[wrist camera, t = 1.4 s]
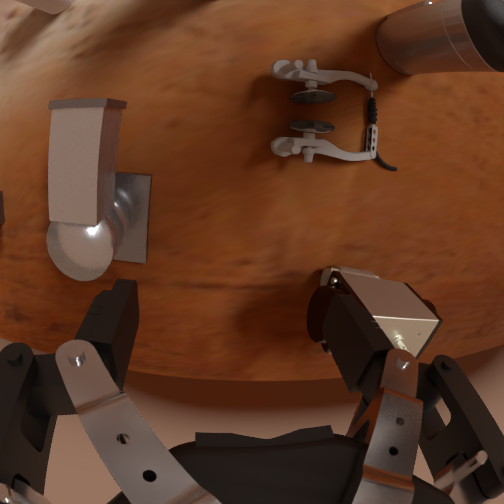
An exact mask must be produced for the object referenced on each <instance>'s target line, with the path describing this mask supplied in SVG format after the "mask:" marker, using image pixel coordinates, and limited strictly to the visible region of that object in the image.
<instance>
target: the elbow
mask: <svg viewBox="0 0 504 504" xmlns="http://www.w3.org/2000/svg"><path fill="white" fill-rule="evenodd" d="M126 105H127V102H125V101H120V100H114V99H109V98H90V99H68V100H54V101H49V109H52V117H51V127H50V139H49V159H48V200H49V219H50V221H52V222H51V223H50V225H49V228H48V231H47V238H46V241H47V248H48V252H49V255H50V257H51V259H52V261H53V262H54V264H55V265H56V266H57V268H58V269H59V270H60V271H61V272H63V273H64V274H65V275H67V276H68V277H70V278H73V279H75V280H79V281H90V280H94V279H96V278H98V277H100V276H101V275H102V274H103V273H104V272H105V271H106V269H107V268H108V266H109V265H110V263H111V261H112V260H113V258H114V256H115V255H116V253H117V252H118V250H119V248H120V246H121V244H122V242H123V236H124V229H123V224H122V220H121V218H120V216H119V214H118V213H117V211H116V210H115V209H114V194H115V175H116V161H117V150H118V140H119V131H120V123H121V116H122V109H126Z"/></svg>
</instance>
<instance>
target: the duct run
mask: <svg viewBox="0 0 504 504" xmlns="http://www.w3.org/2000/svg"><path fill="white" fill-rule="evenodd" d="M4 222H5V218H4V208H3V194H2V191H0V225H1V224H2V223H4Z"/></svg>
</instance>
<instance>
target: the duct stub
mask: <svg viewBox="0 0 504 504" xmlns="http://www.w3.org/2000/svg"><path fill="white" fill-rule="evenodd" d="M151 183H152V175H150V174H139V173H126V172H116V175H115V194H114V209H115V210H116V211H117V213H118V214H119V216H120V218H121V220H122V224H123V229H124V236H123V242H122V244H121V246H120V248H119V250H118V252H117V253H116V255H115V256H114V258H113V260H121V261H129V262H138V263H146V262H147V248H148V224H149V208H150V194H151Z"/></svg>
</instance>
